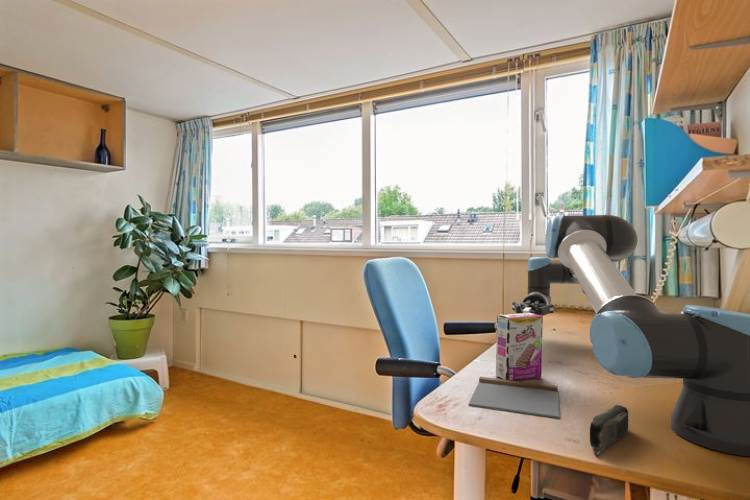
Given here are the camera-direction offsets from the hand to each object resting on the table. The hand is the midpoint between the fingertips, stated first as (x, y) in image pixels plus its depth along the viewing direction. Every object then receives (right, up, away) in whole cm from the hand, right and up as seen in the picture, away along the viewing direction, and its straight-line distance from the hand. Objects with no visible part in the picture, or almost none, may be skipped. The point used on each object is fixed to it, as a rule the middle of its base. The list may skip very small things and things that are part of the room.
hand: (525, 315), depth 122 cm
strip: (-9, -14, -20) cm, 26 cm away
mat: (-12, -15, -27) cm, 33 cm away
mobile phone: (-2, -15, -47) cm, 50 cm away
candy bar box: (-6, -14, -13) cm, 20 cm away
